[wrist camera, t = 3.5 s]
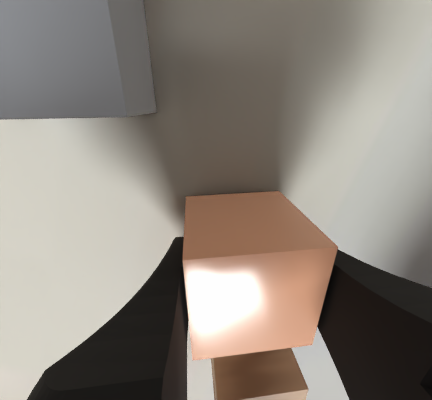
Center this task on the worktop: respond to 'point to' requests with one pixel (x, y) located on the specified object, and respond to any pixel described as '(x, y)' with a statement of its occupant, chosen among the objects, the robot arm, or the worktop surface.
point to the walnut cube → (258, 376)
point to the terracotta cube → (252, 273)
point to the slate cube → (74, 59)
